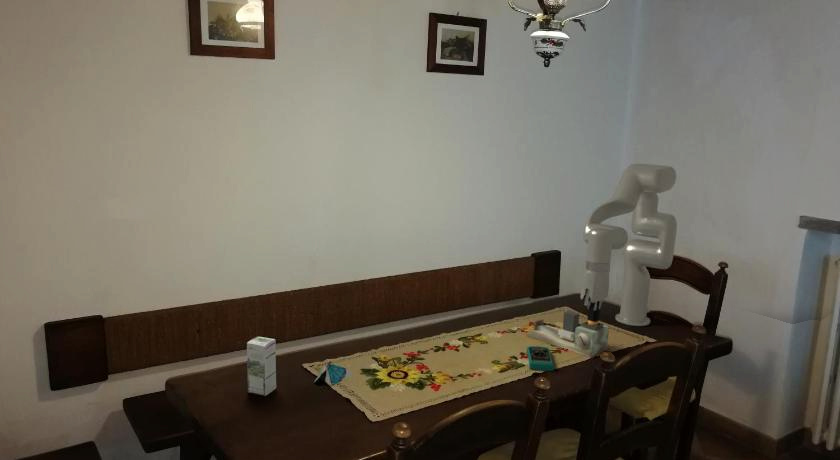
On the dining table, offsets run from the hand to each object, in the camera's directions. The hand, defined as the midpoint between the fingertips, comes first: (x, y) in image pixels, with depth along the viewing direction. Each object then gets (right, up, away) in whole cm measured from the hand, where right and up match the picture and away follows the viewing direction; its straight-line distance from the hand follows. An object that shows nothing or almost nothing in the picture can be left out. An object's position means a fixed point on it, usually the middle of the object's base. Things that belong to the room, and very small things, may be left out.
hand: (592, 320), depth 215 cm
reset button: (0, -2, +1) cm, 2 cm away
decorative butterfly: (-83, -13, -27) cm, 88 cm away
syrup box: (-100, -14, -37) cm, 108 cm away
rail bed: (-7, -9, +9) cm, 14 cm away
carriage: (-6, -7, +7) cm, 12 cm away
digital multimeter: (-19, -12, -9) cm, 25 cm away
